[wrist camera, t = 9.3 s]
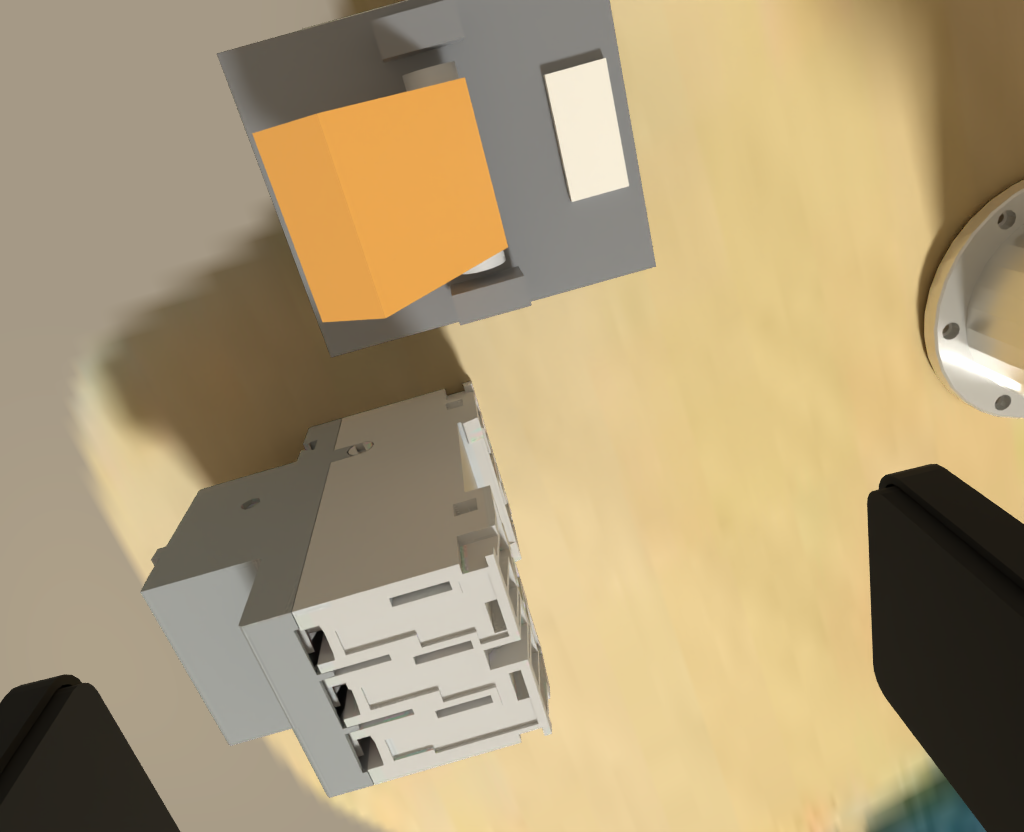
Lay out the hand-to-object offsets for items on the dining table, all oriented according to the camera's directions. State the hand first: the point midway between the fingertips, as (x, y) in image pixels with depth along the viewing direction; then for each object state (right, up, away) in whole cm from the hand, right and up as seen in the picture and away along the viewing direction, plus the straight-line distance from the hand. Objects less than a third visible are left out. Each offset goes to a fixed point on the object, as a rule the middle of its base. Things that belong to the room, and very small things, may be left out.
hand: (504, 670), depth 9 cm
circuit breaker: (-8, 0, +28) cm, 29 cm away
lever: (-2, +11, +14) cm, 18 cm away
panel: (-3, +14, +23) cm, 27 cm away
